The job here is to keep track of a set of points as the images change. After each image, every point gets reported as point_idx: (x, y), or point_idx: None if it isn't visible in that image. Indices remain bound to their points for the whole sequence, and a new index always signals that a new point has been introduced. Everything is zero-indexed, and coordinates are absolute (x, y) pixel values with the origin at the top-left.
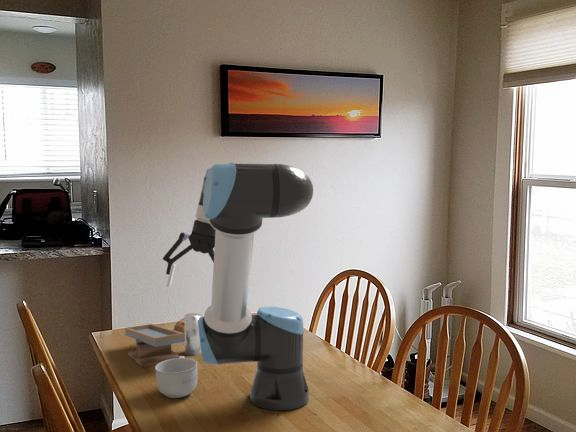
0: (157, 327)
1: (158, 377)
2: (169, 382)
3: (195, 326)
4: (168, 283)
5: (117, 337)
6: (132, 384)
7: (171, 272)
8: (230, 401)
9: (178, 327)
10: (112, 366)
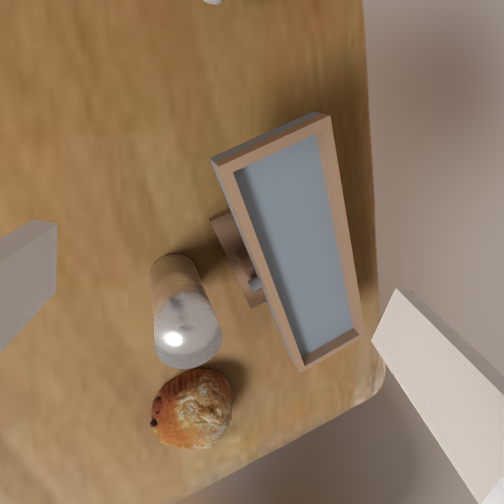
0: (291, 330)
1: None
2: None
3: (173, 296)
4: (417, 302)
5: (346, 369)
6: (335, 34)
7: (479, 362)
8: None
9: (222, 397)
10: (369, 185)
